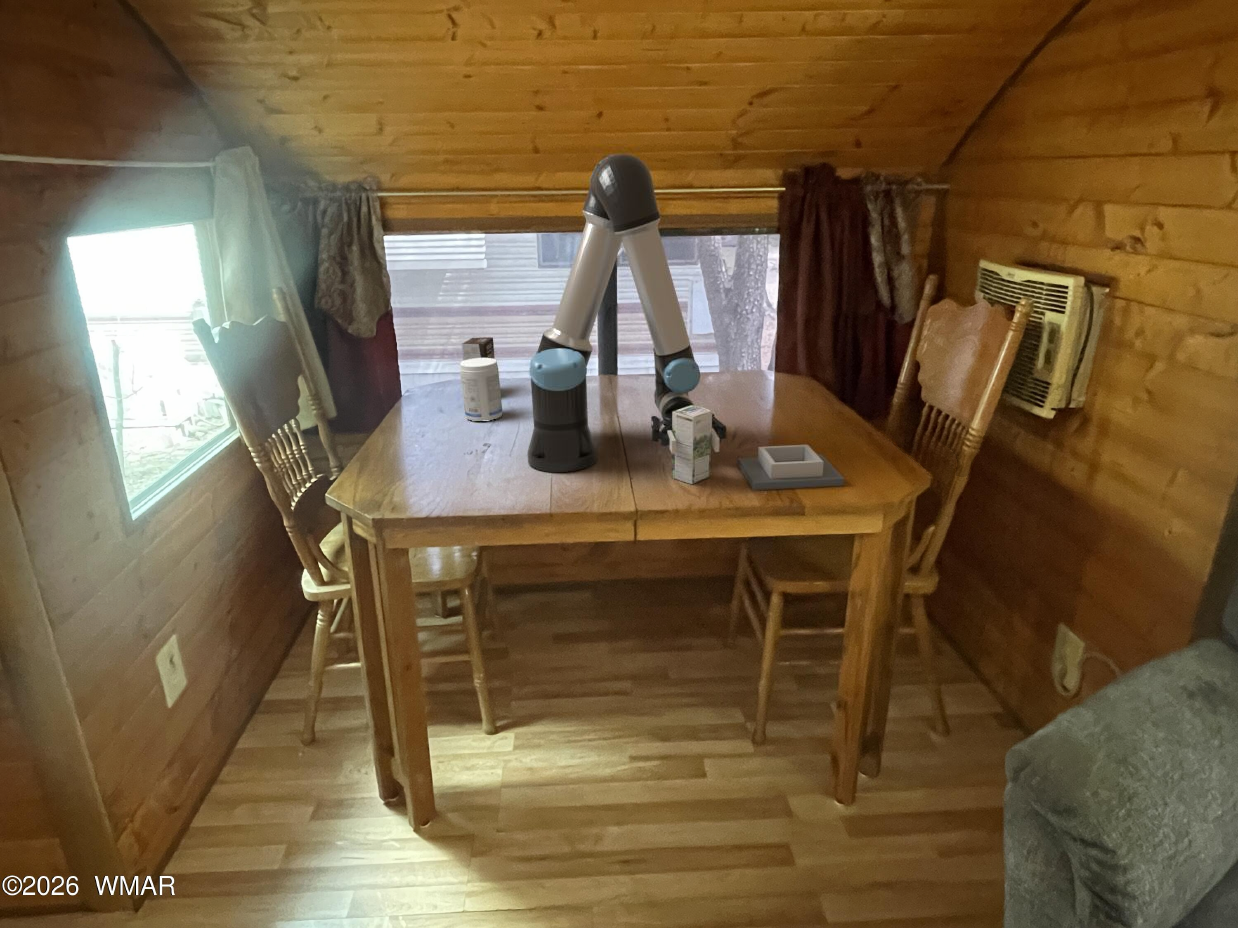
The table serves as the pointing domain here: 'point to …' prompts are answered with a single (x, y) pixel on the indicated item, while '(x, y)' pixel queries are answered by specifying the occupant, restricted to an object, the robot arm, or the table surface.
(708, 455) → the syrup box
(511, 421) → the table surface
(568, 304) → the robot arm
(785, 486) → the socket board
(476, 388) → the supplement tub
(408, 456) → the table surface
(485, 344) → the coffee box
